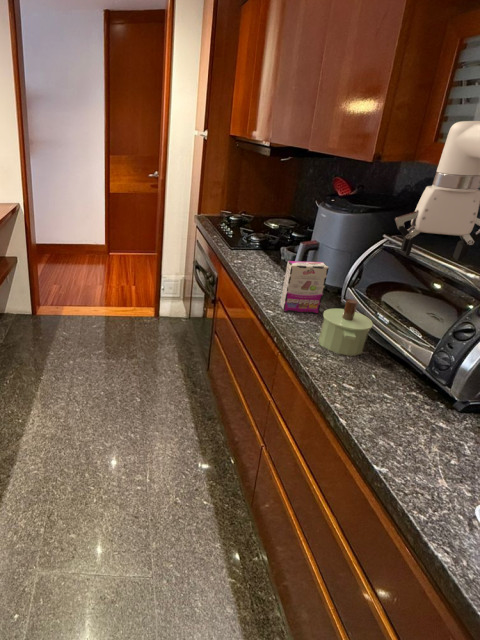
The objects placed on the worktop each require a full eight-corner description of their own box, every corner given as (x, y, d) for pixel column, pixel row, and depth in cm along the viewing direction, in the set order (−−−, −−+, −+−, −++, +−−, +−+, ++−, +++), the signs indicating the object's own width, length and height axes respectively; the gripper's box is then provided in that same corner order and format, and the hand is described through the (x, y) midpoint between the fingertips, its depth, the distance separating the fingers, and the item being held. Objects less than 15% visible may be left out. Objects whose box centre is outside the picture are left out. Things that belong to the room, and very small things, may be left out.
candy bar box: (313, 306, 131) (324, 261, 125) (318, 313, 126) (330, 267, 120) (278, 304, 133) (287, 259, 127) (282, 311, 128) (292, 265, 122)
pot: (357, 336, 114) (364, 310, 110) (367, 366, 100) (375, 338, 97) (316, 328, 118) (322, 304, 114) (320, 356, 104) (327, 329, 101)
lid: (367, 316, 109) (373, 296, 106) (375, 336, 99) (382, 314, 96) (320, 308, 113) (325, 289, 111) (324, 327, 103) (329, 306, 101)
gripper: (500, 182, 83) (471, 256, 90) (402, 177, 90) (382, 247, 96) (518, 187, 77) (486, 267, 83) (411, 182, 83) (389, 256, 90)
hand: (430, 256), depth 90 cm, fingers open, 9 cm apart
